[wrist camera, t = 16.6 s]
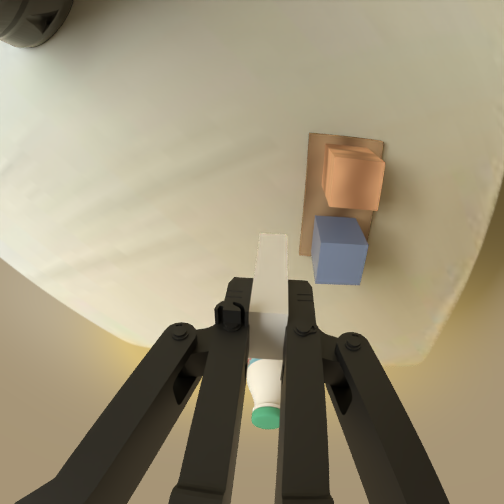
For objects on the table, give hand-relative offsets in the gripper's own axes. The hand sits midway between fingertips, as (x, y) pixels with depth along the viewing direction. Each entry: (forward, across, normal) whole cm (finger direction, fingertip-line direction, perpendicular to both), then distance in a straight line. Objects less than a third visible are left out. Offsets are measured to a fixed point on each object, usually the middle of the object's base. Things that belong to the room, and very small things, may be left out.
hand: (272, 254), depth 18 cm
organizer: (+26, +9, -6) cm, 29 cm away
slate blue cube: (+24, +8, -11) cm, 28 cm away
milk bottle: (+27, +1, -31) cm, 41 cm away
